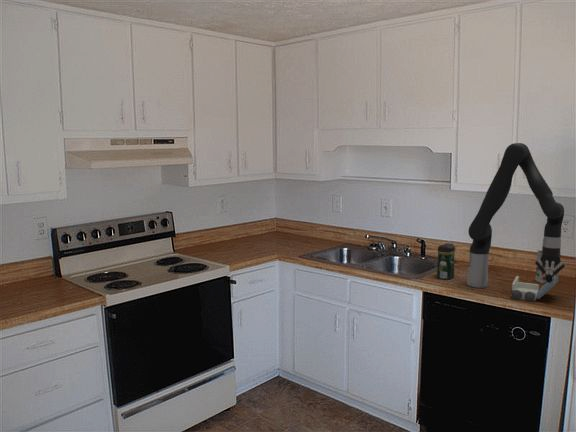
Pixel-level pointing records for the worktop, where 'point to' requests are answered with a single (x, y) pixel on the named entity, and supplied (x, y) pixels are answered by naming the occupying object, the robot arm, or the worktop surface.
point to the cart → (524, 290)
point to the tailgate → (546, 287)
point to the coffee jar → (446, 261)
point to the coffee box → (541, 276)
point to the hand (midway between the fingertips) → (548, 282)
